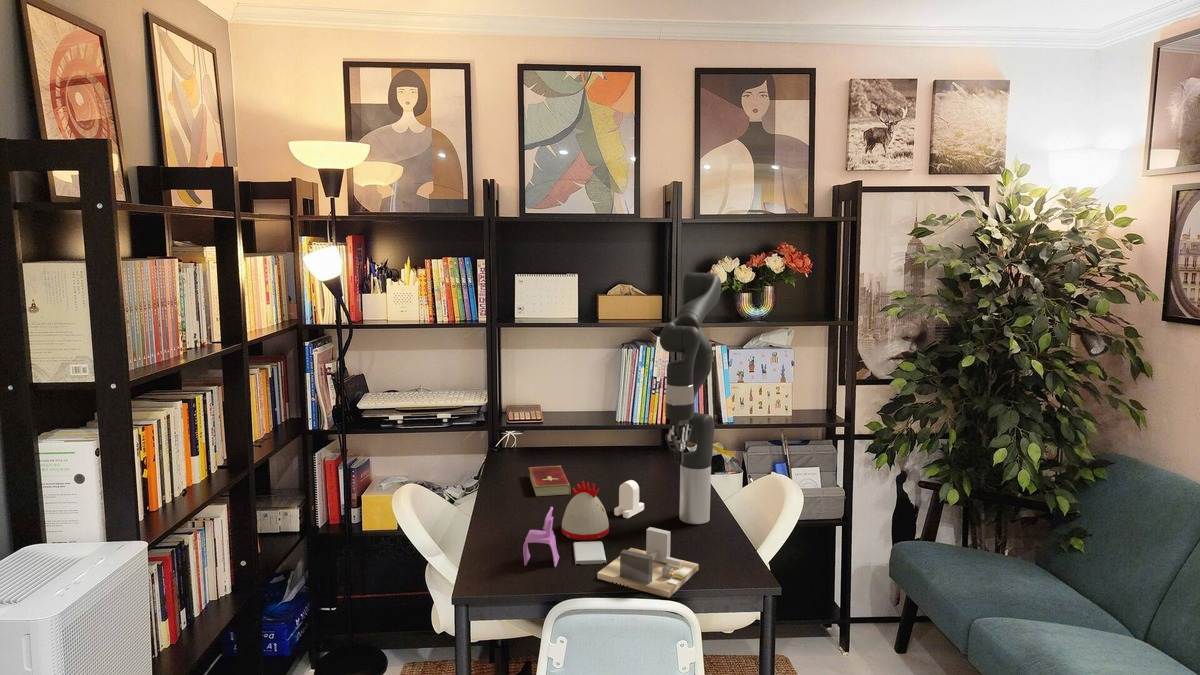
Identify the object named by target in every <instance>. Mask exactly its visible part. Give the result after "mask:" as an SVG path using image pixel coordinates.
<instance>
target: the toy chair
mask: <svg viewBox="0 0 1200 675" xmlns="http://www.w3.org/2000/svg"><path fill="white" fill-rule="evenodd" d="M553 510H554V507H553V506H550V507H549V510H548V512H547V514H546V516H545V518H544V523H543V527H542V530H539V529H529V531H528V533H527V535H526V537H525V538H524V539H525V541H524V543H523V545H522V546H523V548H522V552H523V553H522V554H523V562H524V563H523V564H524V566H527V565H528V562H529V560H530V558H531V554H530V551H529V546H528V545H529V543H530V544H531V543H538V544H539V543H540V544H546V545H549V546H550V550H551V553H552V560H553V566H554V568H557V565H558V562H559V559H560V555H559V552H558V548H557V543H556V542H557V540H556V535H555V533H554V530H553V524H554V516H552V515H553Z"/></svg>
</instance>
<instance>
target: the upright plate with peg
mask: <svg viewBox="0 0 1200 675" xmlns="http://www.w3.org/2000/svg"><path fill="white" fill-rule="evenodd" d="M645 539H646V540H645V546H646V547H645V551H646V555H649V556H653V559H652V560H654V561H658V562H662V563H666V564H667V563H669V564H673V565H677V566H681V565H682V559H679V560H678V558H675V559H674V557H671V531H669V530H665V529H661V528H656V527H651V526H649V527H648V528H646V538H645ZM670 557H671V558H670Z"/></svg>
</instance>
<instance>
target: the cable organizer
mask: <svg viewBox="0 0 1200 675" xmlns="http://www.w3.org/2000/svg"><path fill="white" fill-rule="evenodd" d="M618 489H619V490H618V506H616V507H614V510H613V512H614V516H618V517H619V516H621V515H622V517H623V518H624V519H629V518H631V517H632V516H635V515H636V514H639V513H640V512H643V511H644V510H645V503H644V502H640V486H639V484H638V483H637V482H636V481H635V480H633V479H629V480H626V481H625V482H622V483H621V484H620V485H619V486H618Z"/></svg>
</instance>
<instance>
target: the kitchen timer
mask: <svg viewBox="0 0 1200 675" xmlns="http://www.w3.org/2000/svg"><path fill="white" fill-rule="evenodd" d="M590 487H591V488H590ZM576 488H577V490H576ZM576 488H575V487H572V488H571V489H572V492H573V494H574V495H573V497H572V498H571V499H570V501H569V502H568V503H567V505H566V507H565V510H564V513H563V516H562V522H561V533H562V535H564V536H565V537H567V538H569V539H573V540H581V541H590V540H597V539H600V538H603V537H605V536H607V535H608V533H609V532H610V531H609V530H610V525H609V518H608V515H607V512H606V509H605V507H604V505H603V503H602V502H601V500H600V499H599V497H598V496H597V494H598V492H599V491H600V487H598V488H597V489H596V484H595V482H594V483H592V485H591V486H590V482H589V481H587V482H586V484H585V481H584V480H582V482H581V485H580V484H579V483H577V484H576Z"/></svg>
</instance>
